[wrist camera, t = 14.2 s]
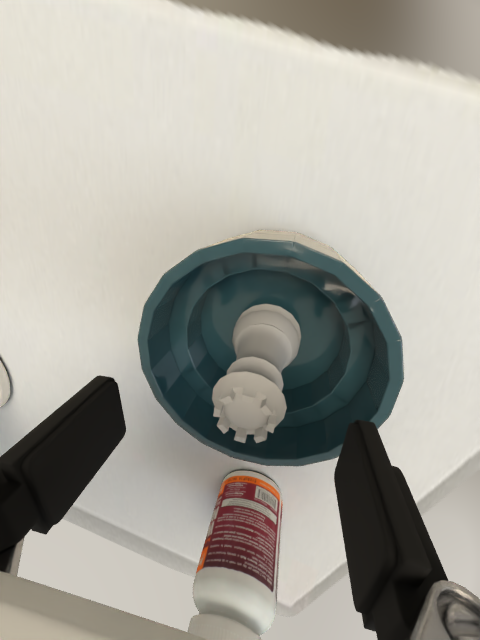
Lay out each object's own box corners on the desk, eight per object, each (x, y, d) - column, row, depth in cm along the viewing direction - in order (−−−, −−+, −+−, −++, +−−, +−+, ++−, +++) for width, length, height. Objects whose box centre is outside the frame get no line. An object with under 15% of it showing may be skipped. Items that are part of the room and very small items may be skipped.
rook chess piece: (285, 369, 18) (274, 475, 11) (228, 345, 18) (180, 432, 11) (313, 317, 16) (322, 404, 9) (248, 290, 16) (206, 354, 9)
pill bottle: (215, 466, 25) (156, 642, 15) (275, 467, 23) (255, 669, 13) (232, 507, 27) (191, 685, 17) (289, 510, 25) (281, 714, 15)
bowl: (185, 386, 21) (151, 438, 17) (176, 223, 16) (121, 229, 11) (346, 417, 19) (361, 489, 14) (399, 237, 14) (454, 252, 9)
